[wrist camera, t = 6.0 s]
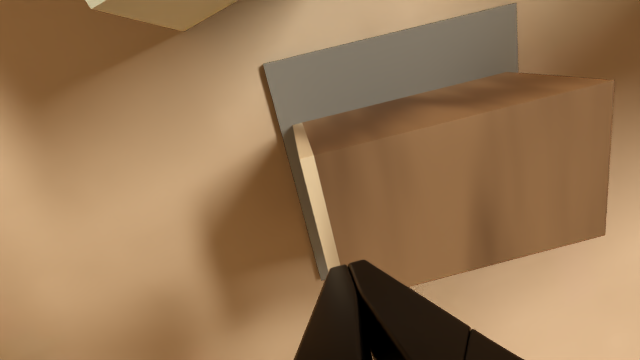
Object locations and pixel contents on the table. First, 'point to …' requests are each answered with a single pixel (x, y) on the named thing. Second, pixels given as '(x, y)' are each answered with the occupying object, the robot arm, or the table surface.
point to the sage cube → (162, 10)
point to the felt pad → (386, 77)
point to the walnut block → (461, 174)
